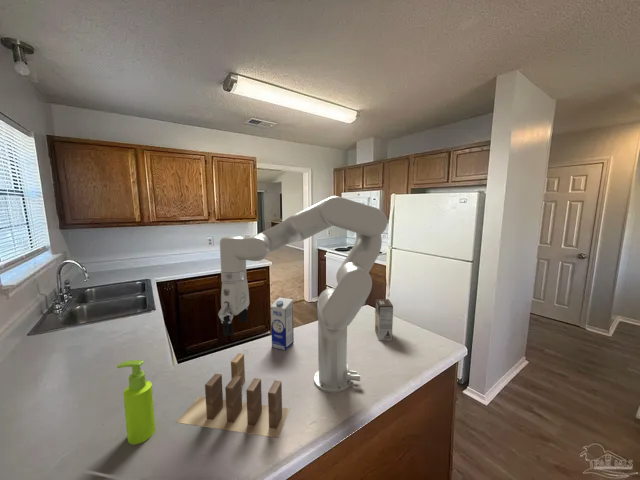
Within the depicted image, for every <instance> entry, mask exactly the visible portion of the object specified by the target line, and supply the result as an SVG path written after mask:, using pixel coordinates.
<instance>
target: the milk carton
mask: <svg viewBox="0 0 640 480" xmlns="http://www.w3.org/2000/svg"><path fill="white" fill-rule="evenodd" d="M270 318H271V319H270V323H271V324H270V325H271V348H273V349H277V350H282V351H284V352H285V351H287V350H288V349H290V348H291V346H293V345H294V344H293V343H295V342H294V334H295V333H294V299H292V298H287V297H281V296H280V297H278V298H277V299H276V300H275V301H274V302H273V303H272V304H271V305H270Z"/></svg>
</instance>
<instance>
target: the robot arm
mask: <svg viewBox="0 0 640 480" xmlns="http://www.w3.org/2000/svg"><path fill="white" fill-rule="evenodd" d="M333 226H334V227H337V228H340V229H341V230H342V229H343V230H346V231H349V232H352V233H355V235H356V238H355V241H354V244H353V245H352V248H351V249H350V252H349V253H348V255H347V256H346V257H345V259H344V261H343V262H342V263H341V265H340V267H339V268H338V270H337V272H336V275H335V276H336V277H335V278H336V279H335V280H336V283H337V285H336V287H335V288H334V287H329V288H326V289H324V290H323V291H321V293H320V294H319V296H318V298H317V305H316V306H317V323H318V325H317V327H318V329H317V335H318V338H317V342H318V344H317V345H318V347H317V348H318V349H317V350H318V351H317V352H318V355H317V357H318V362H317V363H318V366H317V367H318V370H317V371H316V372H315V374H314V376H313V383H314V385H315V387H317V389H319V390H321V391H323V392H326V393H331V394H332V393H334V394H335V393H341V392H344V391H346V390H347V389H348V388H350V386H351V384H352V381H355V382H361V374H357V373H358V370H353V369H352V370H351V369H350V368H349V365H348V363H347V362H348V361H347V360H348V357H347V356H348V343H347V342H348V327H349V326H350V325H351V323H352V322H353V320H354V319H355V318H356V316H357V315H358V313H359V312H360V310H361V309H362V307H363V305H364V304H365V302H366V301H367V299H368V298H369V296H370V293H371V292H372V287H373V279H372V277H371V274H370V271H371V269H372V268H373V266H374V264H375V263H376V260H377V259H378V256H379V255H380V253H381V249H382V243H383V242H382V241H383V240H382V234H383V233H384V232H385V231H386V229H387V226H388V219H387V215H386V214H385V212H383V211H382V210H381V209H380V208H377V207H374V206H371V205H367V204H364V203H361V202H357V201H355V200H351V199H349V198H346V197H345V198H344V197H342V196H338V195H337V196H336V195H332V196H330V197H328V198H325V199H323V200H321V201H319V202H318V203H315V204H313V205H311V206H309V207H307V208H305V209H302V210H301V211H298V212H297V213H295V214H292V215H290V216H289V217H287V218H286V219H285V220H282V221H281V222H280V223H277V224H275V225H273V226H272V227H270V228H268V229H266V230H264V231H261V232H260V233H257V234H256V235H253V236H251V237H243V236H238V235H232V236H224V237H222V238H221V239H220V240H219V253H220V275H221V277H220V278H221V291H220V292H221V294H220V306H221V308H220V310H219V311H218V314H217V315H218V318H219V321H220V322H221V325H222V335H223V336H229V337H232V336H234V322H233V318H234V316H237V315H238V316H237V317H238V318H237V319H238V320H237V321H238V322H239V323H247V322H248V321H249V314H248V310H249V305H250V290H249V285H248V284H249V283H248V279H247V277H248V276H247V275H248V274H247V261H250V262H260V261H263V260H264V259H266V258H267V256H268V255H269V254H271V253H272V252H274V251H276V250H278V249H280V248H282V247H285V246H286V245H290V244H293V243H296V242H302V241H305V240H307V239H309V238H311V237H313V236H316V234H317V235H318V234H319V233H320V232H322V231H326V230H327V229H329V228H331V227H333ZM228 316H229V317H228Z"/></svg>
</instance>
